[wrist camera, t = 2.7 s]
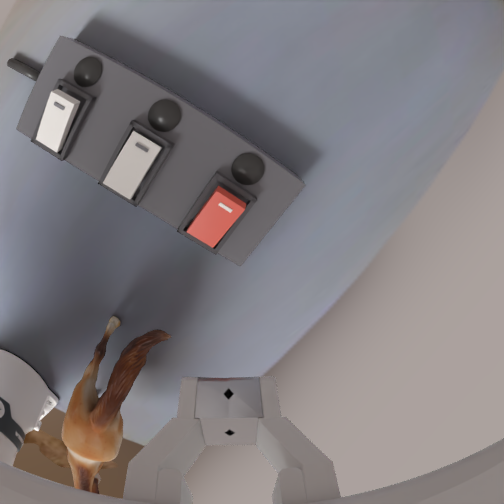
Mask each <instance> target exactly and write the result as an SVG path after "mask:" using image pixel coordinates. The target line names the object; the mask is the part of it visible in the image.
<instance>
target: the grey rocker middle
mask: <svg viewBox="0 0 504 504" xmlns="http://www.w3.org/2000/svg"><path fill="white" fill-rule="evenodd" d="M161 149H162V147H160V146H159V145H157V144H155V143H154V142H152V141H150V140H149V139H147V138H145V137H144V136H142V135H141V134H139V133H137V132H135V131H133V132H132V134H131V136H130V137H129V139H128V140H127V142H126V144H125V145H124V147H123V149H122V150H121V152H120V154H119V155H118V157H117V159H116V160H115V162H114V164H113V166H112V167H111V169H110V171H109V173H108V174H107V176H106V178H105V180H104V182H103V184H105V185H107V186H108V187H110V188H112V189H113V190H115V191H116V192H118V193H120V194H121V195H123V196H125V197H126V198H128V199H129V200H130V199H131V198H132V197H133V195H134V194H135V192H136V190H137V188H138V187H139V185H140V183H141V182H142V180H143V178H144V177H145V175H146V173H147V172H148V170H149V168H150V167H151V165H152V164H153V162H154V160H155V159H156V157H157V156H158V154H159V153H160V151H161Z"/></svg>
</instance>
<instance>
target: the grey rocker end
mask: <svg viewBox="0 0 504 504" xmlns="http://www.w3.org/2000/svg"><path fill="white" fill-rule="evenodd" d="M79 104H80V101H78V100H77V99H75V98H73V97H71V96H70V95H68V94H66V93H64V92H63V91H61V90H59V89H56V90H54V91H51V94H50V96H49V99H48V102H47V105H46V108H45V111H44V114H43V117H42V120H41V123H40V127H39V130H38V133H37V137H36V140H38V141H39V142H41V143H42V144H44V145H45V146H47V147H49V148H50V149H52V150H53V151H55V152H59V151H60V150H61V149H63V146H64V143H65V141H66V138H67V135H68V132H69V129H70V127H71V125H72V122H73V119H74V116H75V114H76V111H77V109H78V106H79Z"/></svg>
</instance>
